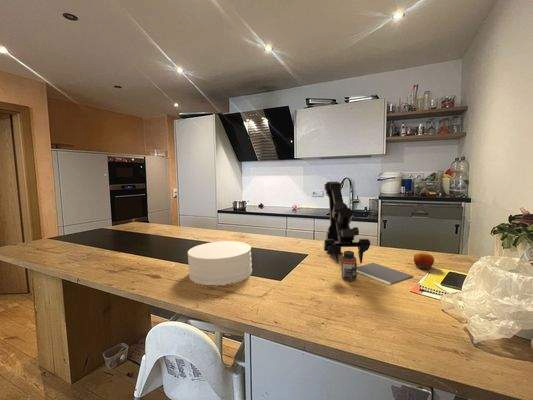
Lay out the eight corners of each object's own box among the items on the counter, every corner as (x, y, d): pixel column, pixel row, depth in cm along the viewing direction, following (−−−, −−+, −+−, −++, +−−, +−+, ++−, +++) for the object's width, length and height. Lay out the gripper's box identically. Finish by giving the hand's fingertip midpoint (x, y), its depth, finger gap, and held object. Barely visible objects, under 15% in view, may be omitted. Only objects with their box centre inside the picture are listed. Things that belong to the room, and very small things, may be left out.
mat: (349, 269, 121) (349, 268, 121) (373, 263, 129) (373, 262, 129) (388, 285, 104) (388, 284, 104) (413, 276, 111) (413, 275, 111)
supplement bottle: (345, 274, 116) (345, 249, 115) (358, 277, 112) (358, 251, 111) (339, 279, 111) (339, 252, 110) (353, 282, 107) (353, 255, 106)
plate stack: (241, 288, 106) (240, 259, 105) (177, 284, 112) (175, 257, 111) (258, 264, 133) (257, 241, 132) (205, 262, 139) (204, 240, 138)
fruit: (413, 267, 118) (413, 249, 121) (413, 271, 124) (413, 254, 127) (435, 269, 114) (435, 251, 117) (433, 273, 121) (433, 256, 124)
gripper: (324, 220, 114) (328, 254, 104) (369, 220, 113) (378, 253, 103) (322, 235, 123) (325, 266, 113) (363, 234, 121) (371, 266, 111)
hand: (349, 263), depth 110 cm, fingers open, 9 cm apart
